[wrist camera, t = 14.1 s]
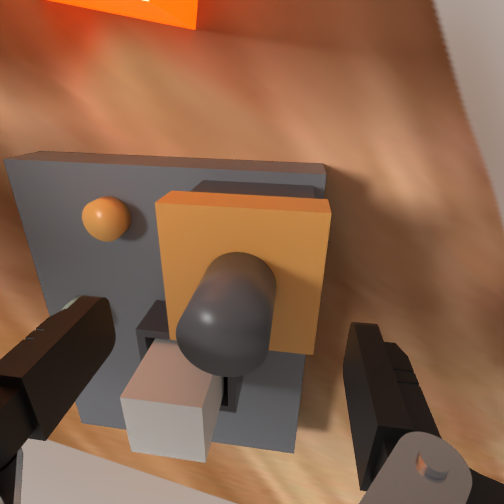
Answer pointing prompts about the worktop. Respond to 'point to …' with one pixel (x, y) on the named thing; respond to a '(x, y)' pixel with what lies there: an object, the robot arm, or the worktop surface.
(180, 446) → the breaker plain
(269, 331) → the cap
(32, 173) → the breaker panel
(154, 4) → the orange juice
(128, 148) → the worktop surface
